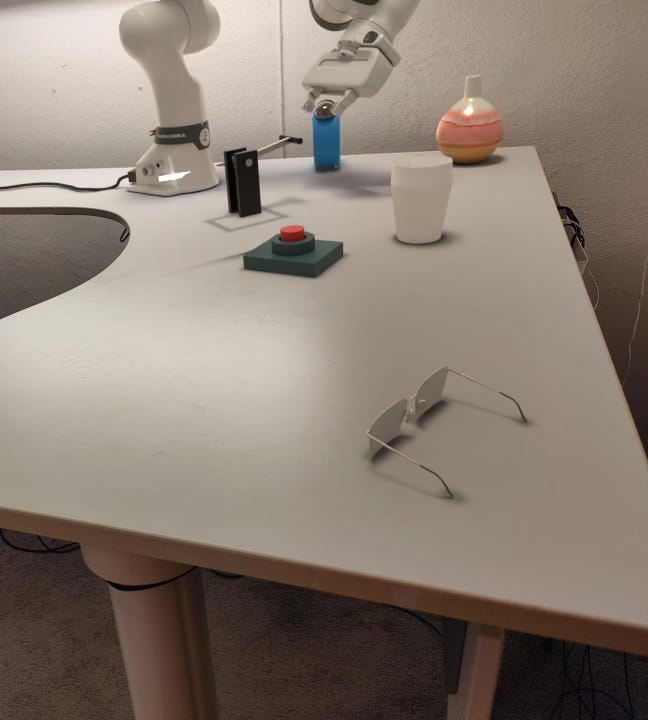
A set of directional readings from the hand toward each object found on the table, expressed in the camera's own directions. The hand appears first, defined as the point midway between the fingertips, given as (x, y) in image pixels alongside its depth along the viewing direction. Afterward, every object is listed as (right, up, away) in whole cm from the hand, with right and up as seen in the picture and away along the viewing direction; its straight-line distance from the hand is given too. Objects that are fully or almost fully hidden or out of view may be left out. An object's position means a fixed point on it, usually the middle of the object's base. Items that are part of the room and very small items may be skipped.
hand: (319, 112), depth 125 cm
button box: (-8, -32, -22) cm, 39 cm away
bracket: (-14, -20, +2) cm, 24 cm away
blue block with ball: (+8, -1, +34) cm, 35 cm away
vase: (+37, -2, +23) cm, 44 cm away
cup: (+12, -27, -19) cm, 35 cm away
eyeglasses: (-2, -54, -67) cm, 86 cm away
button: (-9, -28, -24) cm, 38 cm away
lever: (-10, -9, -1) cm, 14 cm away
